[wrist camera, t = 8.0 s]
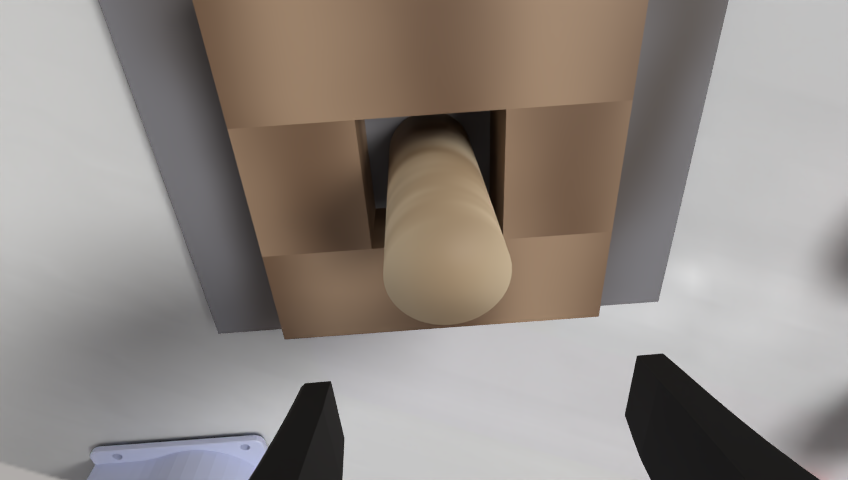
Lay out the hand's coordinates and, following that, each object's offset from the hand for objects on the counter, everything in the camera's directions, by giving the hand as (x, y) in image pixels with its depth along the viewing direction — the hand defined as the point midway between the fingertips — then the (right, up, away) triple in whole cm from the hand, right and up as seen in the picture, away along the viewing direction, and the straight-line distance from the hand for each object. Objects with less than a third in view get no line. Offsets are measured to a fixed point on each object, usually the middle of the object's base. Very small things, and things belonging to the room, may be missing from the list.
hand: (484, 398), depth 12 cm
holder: (-1, +8, +7) cm, 11 cm away
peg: (-1, +7, +7) cm, 10 cm away
